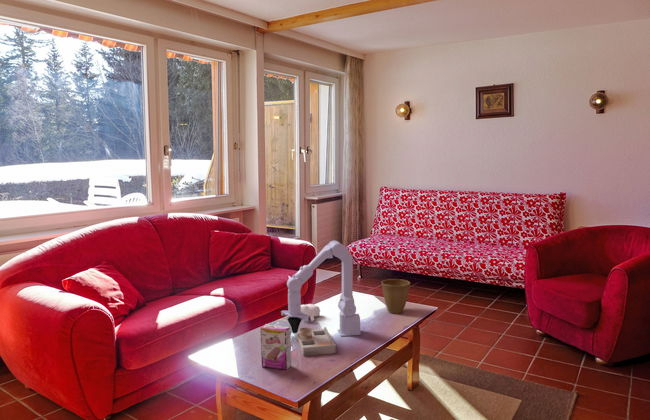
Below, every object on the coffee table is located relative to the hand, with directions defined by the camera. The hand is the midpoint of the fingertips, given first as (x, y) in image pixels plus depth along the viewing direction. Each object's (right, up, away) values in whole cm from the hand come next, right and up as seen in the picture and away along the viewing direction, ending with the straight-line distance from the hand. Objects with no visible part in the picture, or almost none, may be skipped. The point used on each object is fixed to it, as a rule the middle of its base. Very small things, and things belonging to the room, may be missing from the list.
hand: (295, 332), depth 233 cm
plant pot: (+51, +2, +36) cm, 63 cm away
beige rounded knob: (+5, -1, -4) cm, 6 cm away
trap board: (+9, -3, -7) cm, 12 cm away
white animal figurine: (+5, 0, +28) cm, 28 cm away
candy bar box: (-6, -7, -30) cm, 31 cm away
